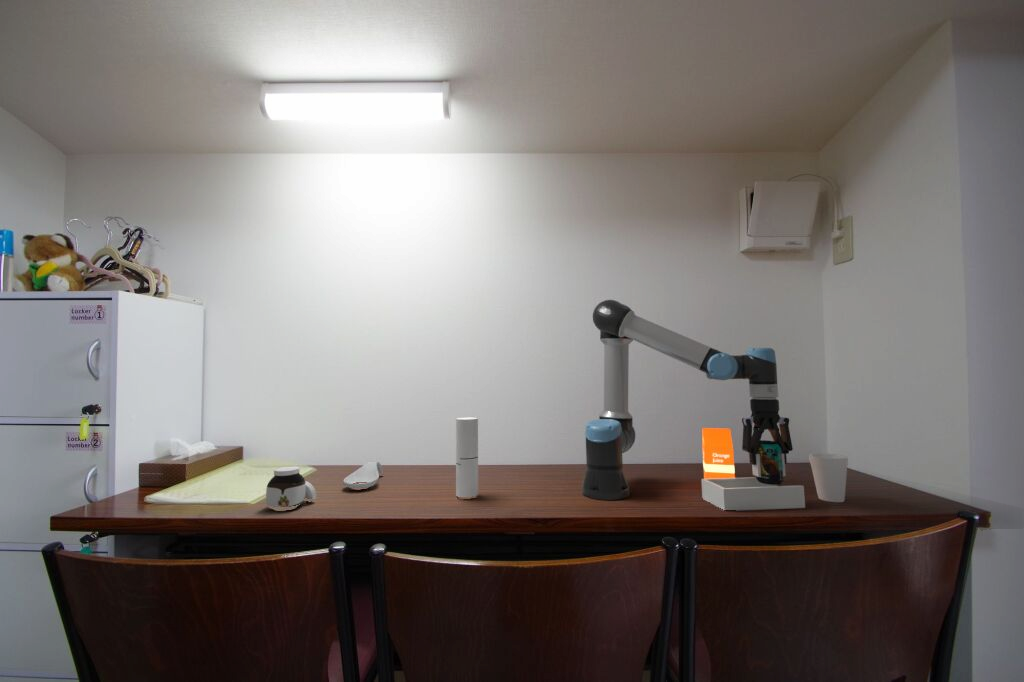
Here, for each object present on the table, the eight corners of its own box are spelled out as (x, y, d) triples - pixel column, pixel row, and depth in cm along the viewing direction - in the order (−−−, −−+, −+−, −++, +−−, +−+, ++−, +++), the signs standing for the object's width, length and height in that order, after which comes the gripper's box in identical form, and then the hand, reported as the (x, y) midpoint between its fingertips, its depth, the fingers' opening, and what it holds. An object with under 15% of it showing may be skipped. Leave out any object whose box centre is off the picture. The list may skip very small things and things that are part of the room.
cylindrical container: (472, 500, 131) (472, 419, 133) (452, 498, 133) (452, 419, 135) (481, 494, 138) (481, 417, 140) (462, 492, 140) (461, 417, 142)
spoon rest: (372, 493, 142) (372, 471, 142) (337, 494, 141) (337, 472, 142) (391, 477, 165) (392, 458, 166) (362, 477, 165) (362, 458, 166)
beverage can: (751, 481, 127) (749, 441, 128) (763, 478, 130) (760, 439, 131) (776, 486, 121) (773, 444, 122) (787, 482, 125) (785, 442, 126)
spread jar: (261, 512, 122) (262, 471, 123) (282, 501, 133) (284, 463, 134) (302, 512, 122) (303, 471, 123) (320, 500, 133) (321, 463, 134)
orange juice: (704, 484, 147) (701, 426, 148) (732, 486, 144) (728, 427, 146) (706, 490, 139) (703, 429, 141) (736, 492, 136) (732, 430, 138)
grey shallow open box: (724, 510, 118) (723, 489, 118) (702, 498, 130) (701, 478, 130) (805, 507, 120) (803, 486, 120) (775, 496, 131) (774, 476, 132)
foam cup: (841, 495, 131) (838, 453, 132) (857, 504, 122) (853, 459, 123) (806, 494, 133) (803, 452, 134) (819, 502, 124) (816, 458, 125)
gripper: (740, 399, 123) (745, 479, 121) (804, 398, 125) (810, 477, 123) (725, 398, 131) (729, 473, 129) (786, 397, 132) (791, 471, 130)
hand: (769, 475), depth 126 cm, fingers closed on beverage can, 7 cm apart
